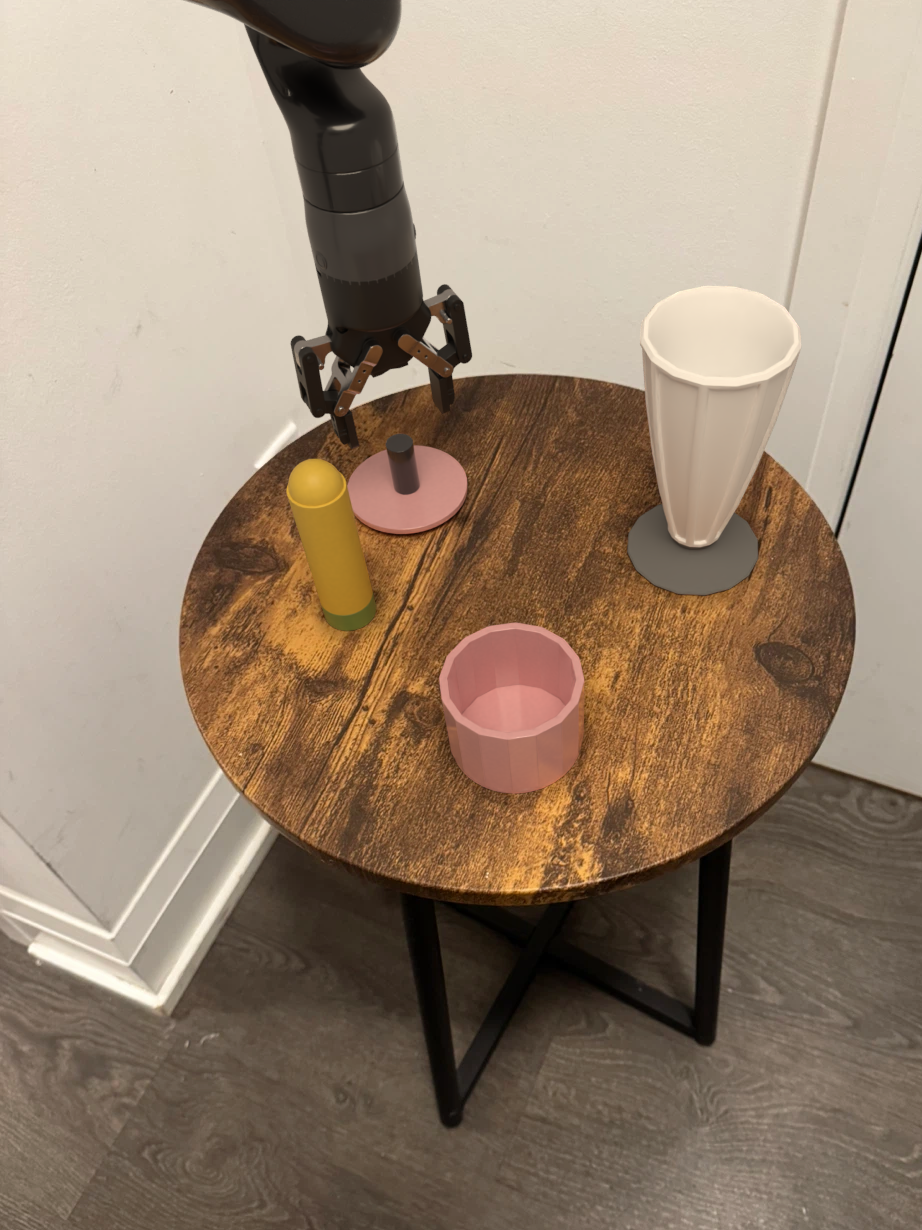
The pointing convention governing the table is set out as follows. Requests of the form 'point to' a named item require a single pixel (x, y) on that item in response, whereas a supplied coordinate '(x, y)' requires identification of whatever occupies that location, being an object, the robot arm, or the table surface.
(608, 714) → the table surface
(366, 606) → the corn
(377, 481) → the lid
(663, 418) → the cup
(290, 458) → the table surface
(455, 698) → the pot
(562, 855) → the table surface
